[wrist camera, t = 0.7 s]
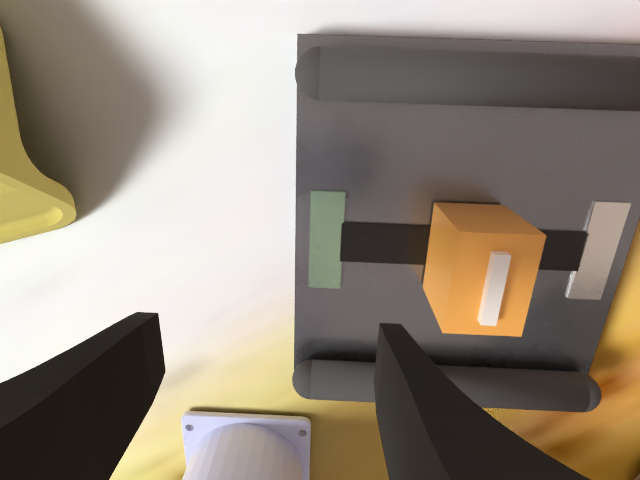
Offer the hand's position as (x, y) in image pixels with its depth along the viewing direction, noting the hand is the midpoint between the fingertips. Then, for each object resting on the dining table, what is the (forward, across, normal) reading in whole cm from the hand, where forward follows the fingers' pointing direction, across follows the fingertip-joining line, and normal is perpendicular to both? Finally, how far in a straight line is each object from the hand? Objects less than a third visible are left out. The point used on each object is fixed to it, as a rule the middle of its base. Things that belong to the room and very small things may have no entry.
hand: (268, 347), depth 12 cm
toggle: (+9, -8, 0) cm, 12 cm away
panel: (+10, -8, 0) cm, 13 cm away
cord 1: (+9, -8, +8) cm, 14 cm away
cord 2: (+9, -8, -7) cm, 14 cm away
